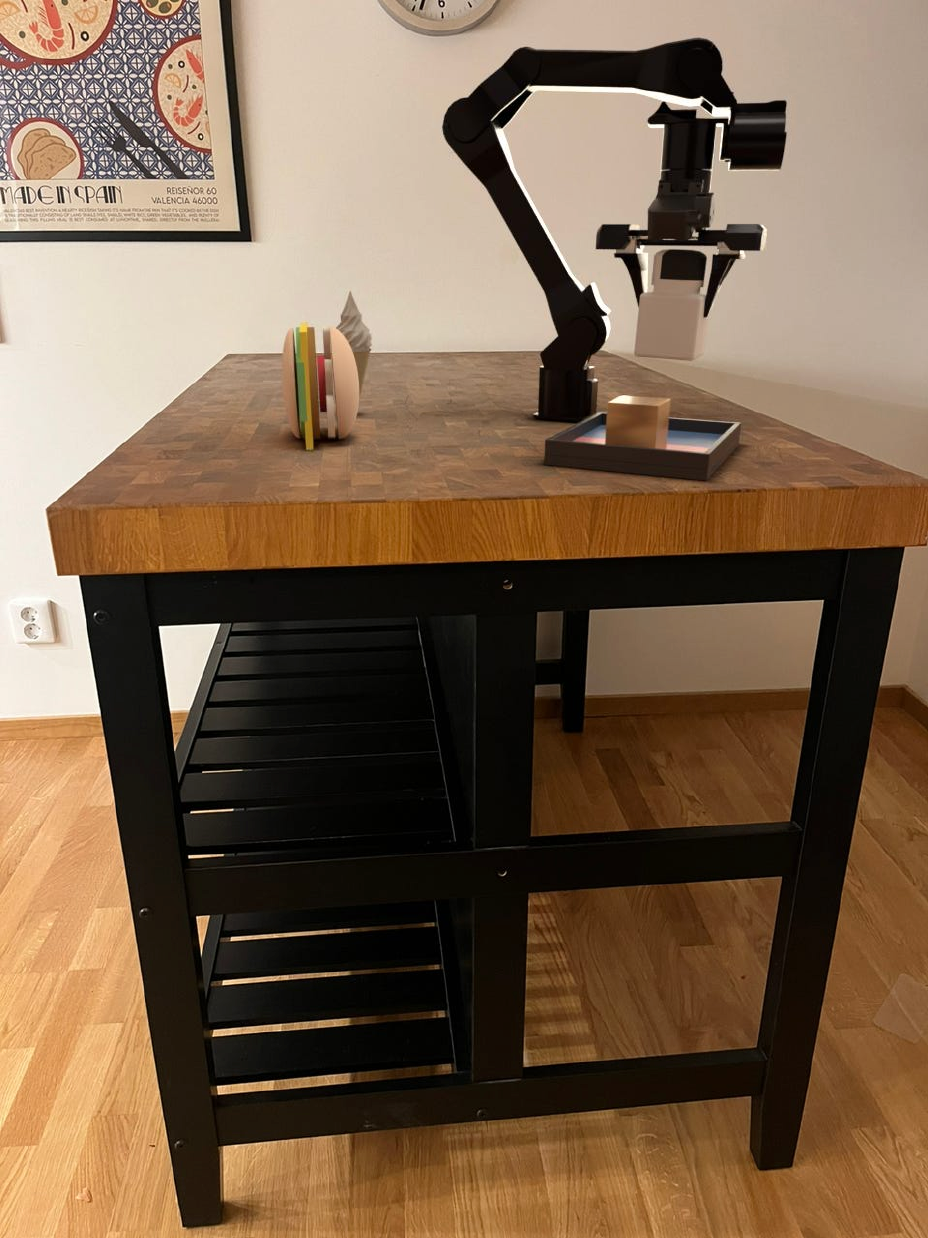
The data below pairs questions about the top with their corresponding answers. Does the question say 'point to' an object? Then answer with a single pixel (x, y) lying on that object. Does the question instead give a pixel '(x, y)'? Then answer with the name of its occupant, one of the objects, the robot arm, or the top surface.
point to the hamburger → (304, 385)
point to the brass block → (638, 421)
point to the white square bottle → (673, 308)
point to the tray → (646, 449)
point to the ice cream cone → (356, 337)
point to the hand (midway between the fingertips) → (673, 316)
